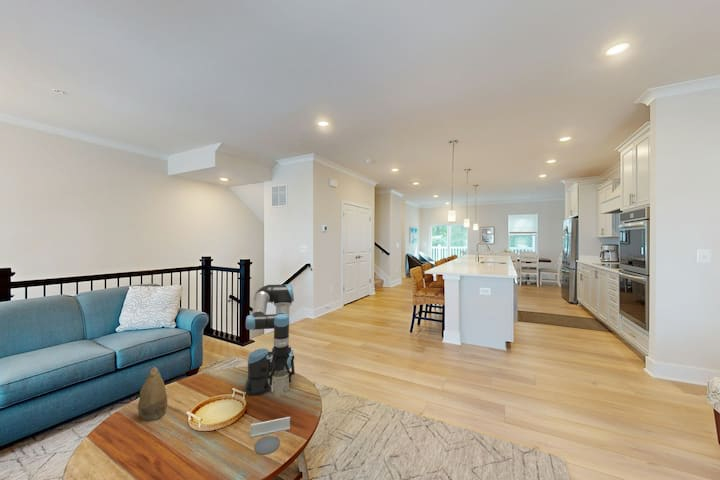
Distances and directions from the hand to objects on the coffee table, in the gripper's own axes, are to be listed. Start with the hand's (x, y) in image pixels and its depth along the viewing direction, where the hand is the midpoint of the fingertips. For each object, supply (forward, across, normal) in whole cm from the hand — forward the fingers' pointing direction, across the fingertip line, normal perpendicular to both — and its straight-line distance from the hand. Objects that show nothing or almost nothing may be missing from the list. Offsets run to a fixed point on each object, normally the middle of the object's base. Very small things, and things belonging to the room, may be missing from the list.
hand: (280, 389), depth 146 cm
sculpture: (+15, -61, +24) cm, 67 cm away
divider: (+15, -5, -8) cm, 18 cm away
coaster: (+15, -7, -18) cm, 24 cm away
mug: (+2, -1, 0) cm, 2 cm away
